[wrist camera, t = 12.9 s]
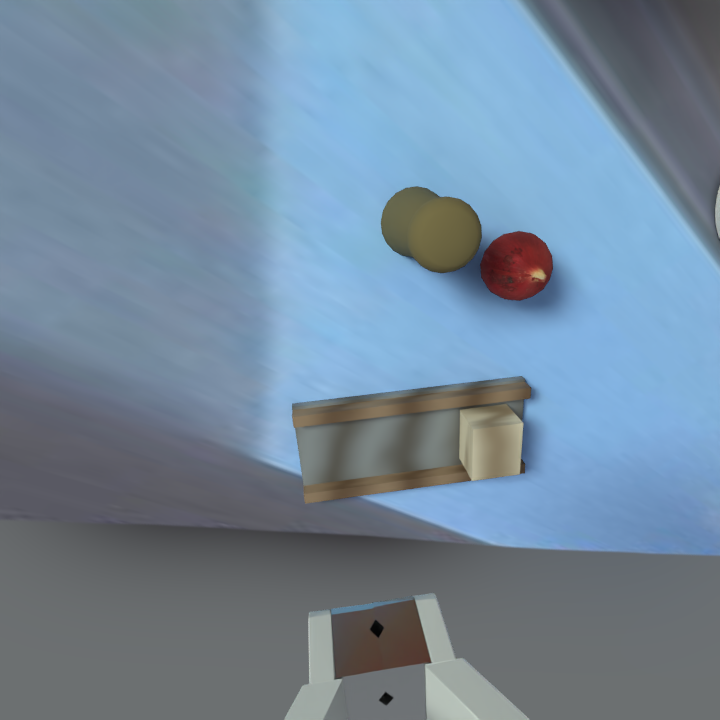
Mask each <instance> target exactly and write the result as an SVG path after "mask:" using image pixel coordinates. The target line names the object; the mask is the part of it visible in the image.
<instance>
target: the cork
mask: <svg viewBox="0 0 720 720" xmlns="http://www.w3.org/2000/svg"><path fill="white" fill-rule="evenodd" d="M381 228H382V234H383V236H384V239H385V241H386V243H387V244H388V245H389V246H390V247H391V248H392V249H393V251H395V252H397V253H399V254H401V255H404V256H410V257H413V258H414V259H415V260H416V261H417V262H418V263H419V264H420V265H421V266H422V267H424V268H426V269H428V270H430V271H432V272H438V273H446V272H452V271H456V270H458V269H460V268H462V267H464V266H465V265H466V264H467V263H468V262H469V261H470V260H472V259H473V257H474V255H475V254H476V252H477V250H478V249H479V245H480V242H481V238H482V233H481V224H480V221H479V218H478V215H477V214H476V213H475V211H474V210H473V209H472V208H471V206H470V205H469V204H467V203H465V202H464V201H462V200H461V199H457V198H452V197H439V196H438V195H437V194H435V193H434V192H432V191H430V190H429V189H427V188H422V187H410V188H405V189H403V190H401V191H399V192H397V193H396V194H395V195H394V196H393V197H392V198H391V199H390V200H389V201H388V203H387V204H386V206H385V208H384V210H383V214H382V219H381Z"/></svg>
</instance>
